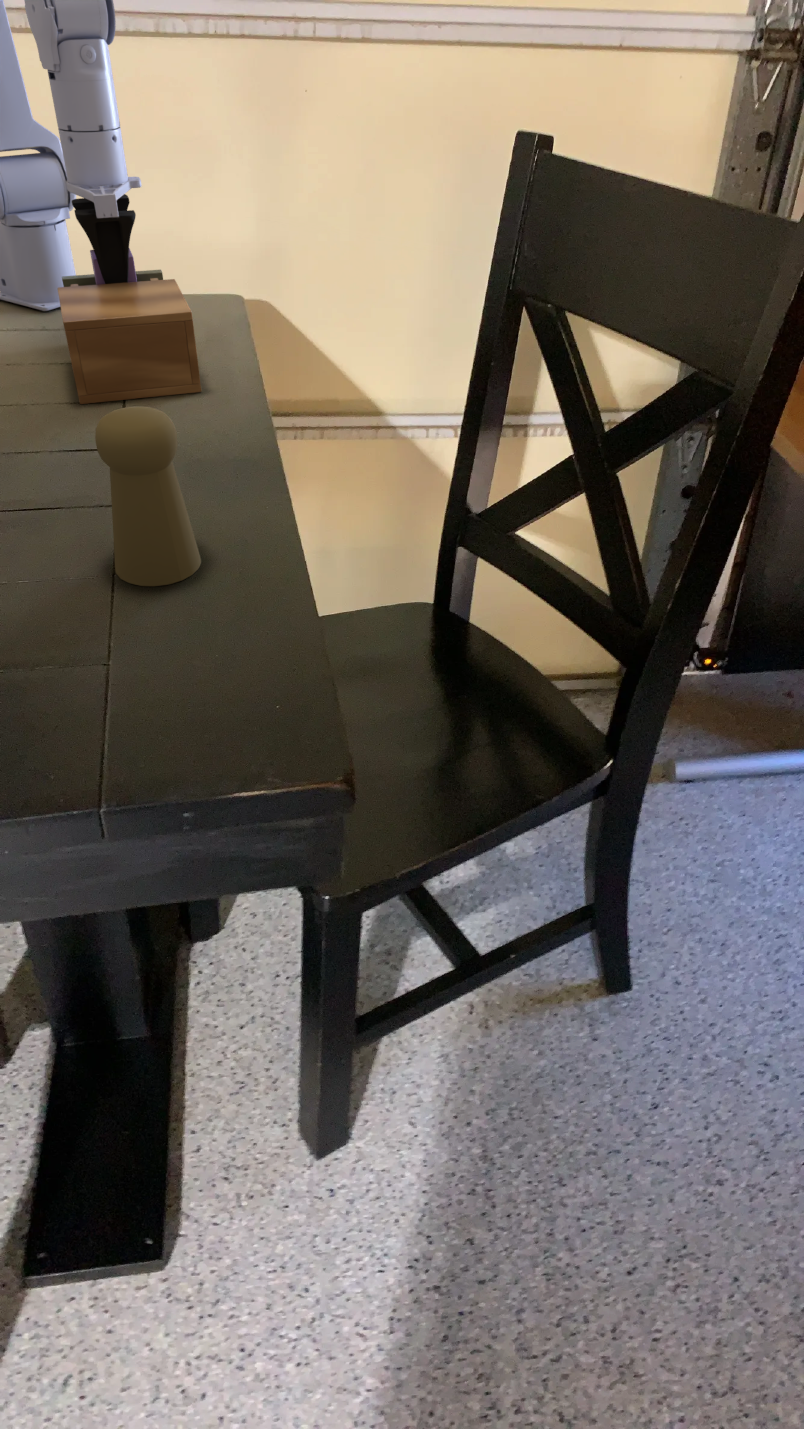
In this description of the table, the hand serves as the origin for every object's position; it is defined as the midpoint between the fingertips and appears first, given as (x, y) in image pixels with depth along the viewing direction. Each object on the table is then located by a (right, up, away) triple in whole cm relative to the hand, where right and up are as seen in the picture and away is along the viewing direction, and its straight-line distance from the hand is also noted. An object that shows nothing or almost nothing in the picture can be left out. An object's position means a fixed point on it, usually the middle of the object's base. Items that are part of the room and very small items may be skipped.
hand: (115, 280), depth 99 cm
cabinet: (+3, -11, -2) cm, 11 cm away
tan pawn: (+12, -34, -31) cm, 48 cm away
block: (0, -1, +1) cm, 1 cm away
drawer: (0, -4, +5) cm, 6 cm away
